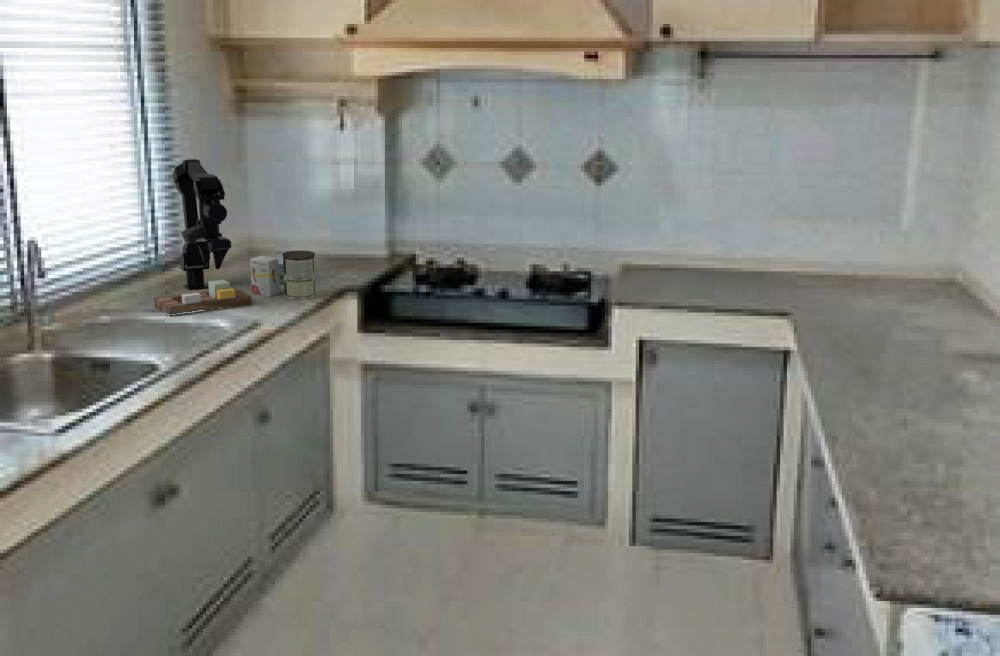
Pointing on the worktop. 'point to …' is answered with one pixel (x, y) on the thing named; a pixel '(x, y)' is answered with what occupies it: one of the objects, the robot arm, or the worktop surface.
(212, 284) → the pale mint cube
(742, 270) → the worktop surface
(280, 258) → the chinaware
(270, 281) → the ink box
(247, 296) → the socket block
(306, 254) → the coffee can
